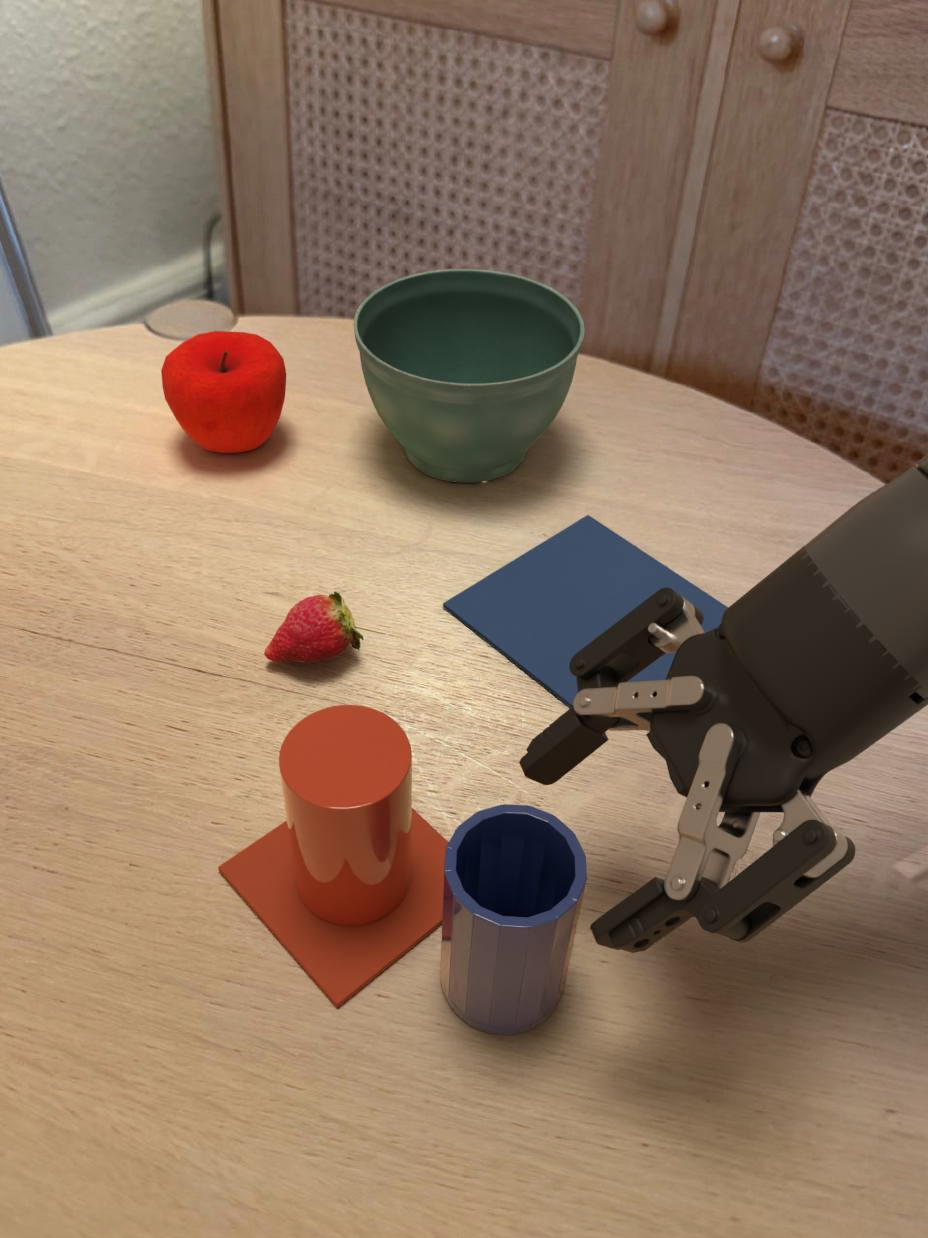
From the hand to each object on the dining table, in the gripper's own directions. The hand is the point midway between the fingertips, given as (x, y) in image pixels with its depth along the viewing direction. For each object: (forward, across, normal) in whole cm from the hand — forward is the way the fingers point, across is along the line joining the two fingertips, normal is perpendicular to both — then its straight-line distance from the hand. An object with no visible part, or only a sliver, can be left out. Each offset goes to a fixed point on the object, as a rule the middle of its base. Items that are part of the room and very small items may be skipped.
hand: (566, 853), depth 47 cm
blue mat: (-1, -22, +15) cm, 27 cm away
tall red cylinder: (+12, -7, +1) cm, 14 cm away
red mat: (+12, -7, +1) cm, 14 cm away
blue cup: (+8, 0, +5) cm, 10 cm away
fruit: (+12, -23, +2) cm, 26 cm away
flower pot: (+1, -42, +13) cm, 44 cm away
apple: (+13, -47, +1) cm, 49 cm away
